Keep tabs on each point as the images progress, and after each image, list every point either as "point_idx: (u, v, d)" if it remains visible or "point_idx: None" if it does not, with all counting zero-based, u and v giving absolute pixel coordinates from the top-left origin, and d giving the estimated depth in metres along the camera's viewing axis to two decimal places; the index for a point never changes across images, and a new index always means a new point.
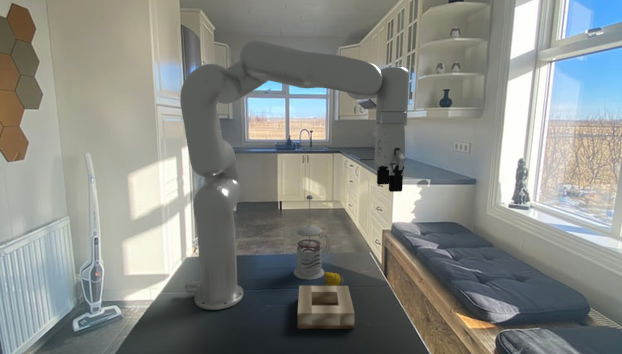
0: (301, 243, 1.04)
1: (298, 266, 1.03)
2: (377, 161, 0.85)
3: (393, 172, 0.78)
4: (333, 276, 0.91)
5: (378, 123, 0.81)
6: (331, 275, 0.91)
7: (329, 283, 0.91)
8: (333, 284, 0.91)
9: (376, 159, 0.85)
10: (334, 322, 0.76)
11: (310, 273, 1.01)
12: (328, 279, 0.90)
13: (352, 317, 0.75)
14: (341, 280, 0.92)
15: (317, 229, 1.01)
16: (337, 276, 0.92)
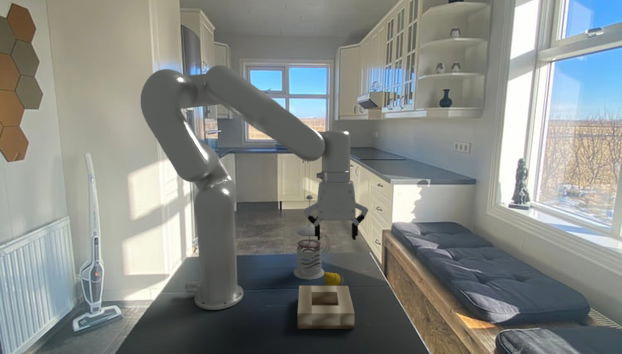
0: (301, 243, 1.04)
1: (298, 266, 1.03)
2: (332, 218, 0.87)
3: (358, 222, 0.89)
4: (333, 276, 0.91)
5: (341, 182, 0.85)
6: (331, 275, 0.91)
7: (329, 283, 0.91)
8: (333, 284, 0.91)
9: (328, 216, 0.87)
10: (334, 322, 0.76)
11: (310, 273, 1.01)
12: (328, 279, 0.90)
13: (352, 317, 0.75)
14: (341, 280, 0.92)
15: None
16: (337, 276, 0.92)
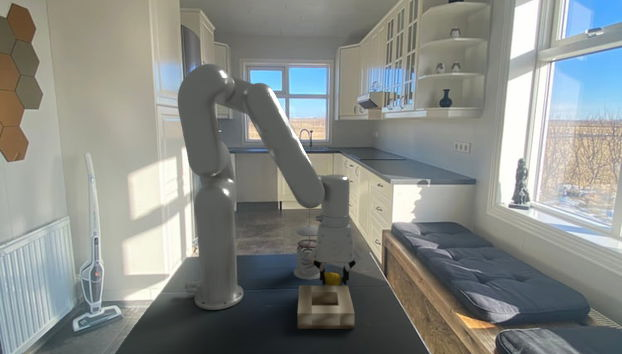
0: (301, 243, 1.04)
1: (298, 266, 1.03)
2: (330, 260, 0.89)
3: (349, 268, 0.91)
4: (333, 276, 0.91)
5: (339, 227, 0.86)
6: (331, 275, 0.91)
7: (329, 283, 0.91)
8: (333, 284, 0.91)
9: (327, 259, 0.89)
10: (334, 322, 0.76)
11: (310, 273, 1.01)
12: (328, 279, 0.90)
13: (352, 317, 0.75)
14: (341, 280, 0.92)
15: (317, 229, 1.01)
16: (337, 276, 0.92)
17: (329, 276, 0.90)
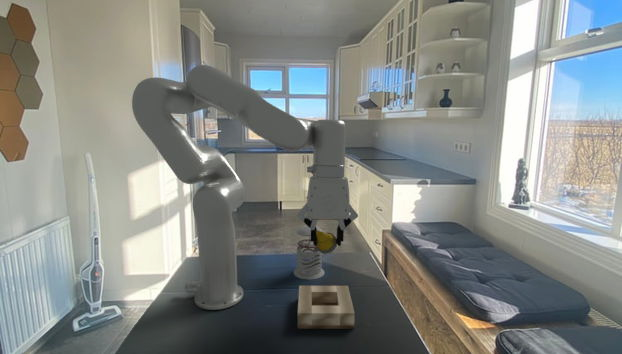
0: (301, 243, 1.04)
1: (298, 266, 1.03)
2: (323, 217, 0.78)
3: (344, 226, 0.80)
4: (326, 236, 0.80)
5: (334, 177, 0.76)
6: (324, 234, 0.80)
7: (321, 244, 0.80)
8: (326, 245, 0.80)
9: (319, 215, 0.78)
10: (334, 322, 0.76)
11: (310, 273, 1.01)
12: (320, 239, 0.80)
13: (352, 317, 0.75)
14: (335, 241, 0.82)
15: (317, 229, 1.01)
16: (330, 236, 0.82)
17: (321, 235, 0.79)
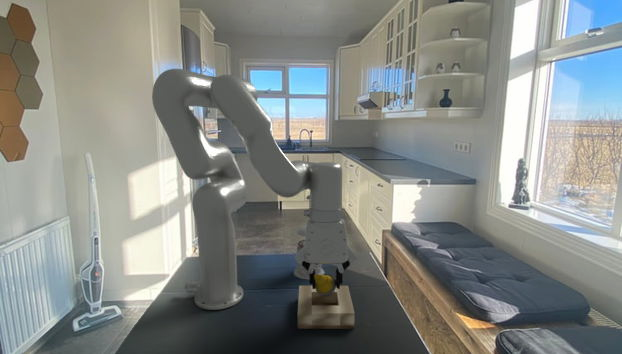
0: (301, 243, 1.04)
1: (298, 266, 1.03)
2: (321, 261, 0.77)
3: (343, 269, 0.79)
4: (324, 279, 0.79)
5: (331, 222, 0.75)
6: (322, 278, 0.79)
7: (320, 287, 0.79)
8: (324, 288, 0.79)
9: (316, 259, 0.77)
10: (334, 322, 0.76)
11: None
12: (318, 282, 0.79)
13: (352, 317, 0.75)
14: (334, 283, 0.81)
15: None
16: (329, 279, 0.81)
17: (320, 279, 0.78)
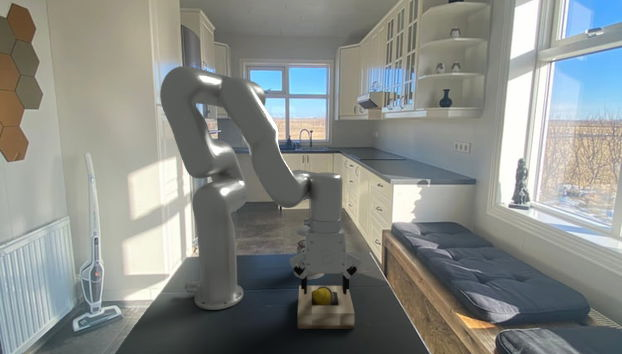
0: (301, 243, 1.04)
1: None
2: (320, 271, 0.78)
3: (350, 275, 0.80)
4: (322, 294, 0.80)
5: (330, 233, 0.75)
6: (320, 293, 0.79)
7: (317, 302, 0.80)
8: (322, 303, 0.80)
9: (316, 269, 0.77)
10: (334, 322, 0.76)
11: (310, 273, 1.01)
12: (316, 298, 0.79)
13: (352, 317, 0.75)
14: (331, 297, 0.81)
15: None
16: (327, 293, 0.81)
17: (318, 295, 0.79)
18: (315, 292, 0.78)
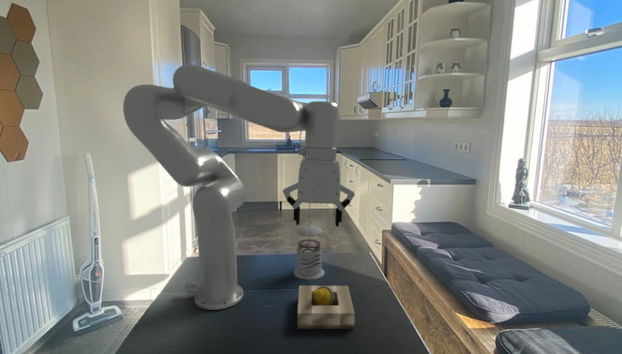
0: (301, 243, 1.04)
1: (298, 266, 1.03)
2: (313, 200, 0.77)
3: (343, 207, 0.79)
4: (322, 294, 0.80)
5: (324, 160, 0.75)
6: (320, 293, 0.79)
7: (317, 302, 0.80)
8: (322, 303, 0.80)
9: (309, 198, 0.77)
10: (334, 322, 0.76)
11: (310, 273, 1.01)
12: (316, 298, 0.79)
13: (352, 317, 0.75)
14: (331, 297, 0.81)
15: (317, 229, 1.01)
16: (327, 293, 0.81)
17: (318, 295, 0.79)
18: (315, 292, 0.78)
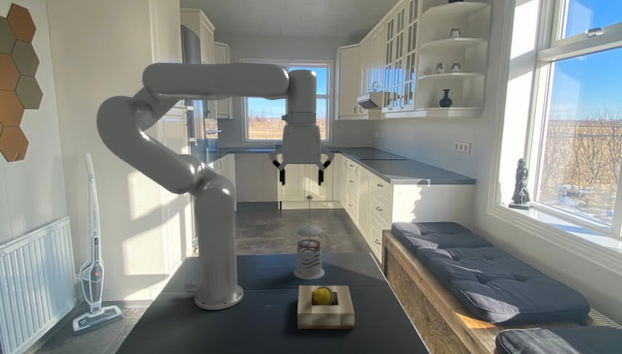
0: (301, 243, 1.04)
1: (298, 266, 1.03)
2: (296, 161, 0.84)
3: (324, 167, 0.86)
4: (322, 294, 0.80)
5: (305, 123, 0.82)
6: (320, 293, 0.79)
7: (317, 302, 0.80)
8: (322, 303, 0.80)
9: (292, 159, 0.84)
10: (334, 322, 0.76)
11: (310, 273, 1.01)
12: (316, 298, 0.79)
13: (352, 317, 0.75)
14: (331, 297, 0.81)
15: (317, 229, 1.01)
16: (327, 293, 0.81)
17: (318, 295, 0.79)
18: (315, 292, 0.78)
